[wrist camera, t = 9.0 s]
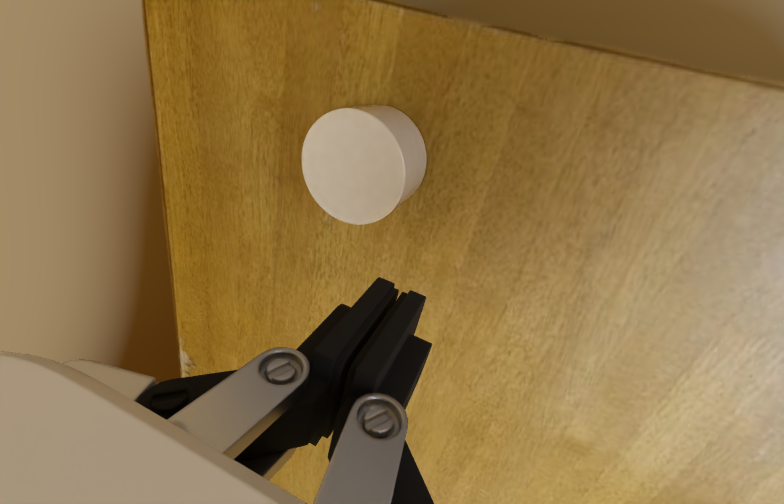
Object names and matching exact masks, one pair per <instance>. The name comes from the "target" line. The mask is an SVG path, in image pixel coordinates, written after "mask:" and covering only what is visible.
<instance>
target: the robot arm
mask: <svg viewBox="0 0 784 504" xmlns="http://www.w3.org/2000/svg"><path fill="white" fill-rule="evenodd" d="M394 285H395V284H394V283H392V282H390V281H387V280H385V279H382V278H380V277H379V278H377V279H376V281H375V282H374V283H373V284H372V285H371V286H370V287H369V288H368V290H367V291H366V292H365V293H364V294H363V295H362V296H361V297H360V299H359V300H358V301H357V302H356V303H355V304H354V305H353V306H352V308H351V307H349V306H346V305H344V304H340V305H339V306H338V307H337V308H336V309H335V310H334V311H333V312H332V313H331V314H330V315H329V316H328V317H327V318H326V319H325V320H324V321H323V322H322V323H321V324H320V325H319V327H318V328H317V329H316V330H315V331H314V332H313V333H312V334H311V335H310V336H309V337H308V338H307V339H306V340H305V341H304V342H303V343H302V344H301V345H300V346H299V347H298V348H297V349H296V350H295V349H292V348H287V347H277V348H273V349H269V350H267V351H265V352H263V353H261V354H260V355H258V356H257V357H256V358H254V359H253V360H251V361H250V362H248V363H247V364H246V365H244V366H243V367H241V368H240V369H238V370H233V371H226V372H219V373H212V374H205V375H199V376H192V377H185V378H178V379H171V380H167V381H163V382H160V383H157V382H156V379H155V378H154V377H151V376H147V375H143V374H140V373H136V372H132V371H129V370H125V369H121V368H118V367H114V366H110V365H107V364H103V363H99V362H95V361H92V360H84V359H79V360H71V361H68V362H65V363H59V362H56V361H53V360H50V359H46V358H42V357H38V356H33V355H29V354H21V353H13V352H4V351H1V352H0V504H307V503H305V502H303V501H302V500H300V499H298V498H297V497H295V496H293V495H292V494H290V493H288V492H287V491H285V490H283V489H282V488H280V487H278V486H277V485H275V484H273V483H272V482H270V481H269V480H270V479H271V478H272V477H273V476H274V475H275V474H276V473H277V472H278V471H279V470H280V469H281V467H282V466H283V465H284V464H285V463H286V462H287V461H288V460H289V459H290V458H291V457H292V455H293V454H294V452H295V451H296V448H297V447H301V446H305V445H308V443H311V444H313V445H315V446H316V445H317V443H318V442H319V440H320V439H321V437H322V436H324V437H326V438H328V437H329V436H330V435H331V433H332V431H333V430H334V431H333V436H332V440H331V444H330V449H329V453H328V459H329V465H328V468H327V470H326V473H325V475H324V478H323V480H322V483H321V485H320V488H319V490H318V493H317V495H316V498H315V500H314V503H313V504H434V503H433V500H432V498H431V496H430V494H429V491H428V489H427V487H426V485H425V483H424V480H423V478H422V476H421V474H420V472H419V469H418V467H417V465H416V463H415V461H414V458H413V456H412V454H411V452H410V450H409V447H408V445H407V443H406V441H405V437H406V433H407V428H408V417H407V414H406V411H405V409H406V407H407V405H408V402H409V400H410V398H411V396H412V394H413V391H414V389H415V387H416V385H417V382H418V380H419V378H420V375H421V373H422V370H423V368H424V365H425V363H426V360H427V357H428V354H429V352H430V349H431V346H432V343H429V342H427V341H425V340H423V339H420V338H418V337H416V336H414V333H415V330H416V327H417V324H418V321H419V318H420V315H421V312H422V309H423V306H424V303H425V300H426V296H423V295H421V294H418V293H416V292H414V291H411V290H410V291H409V293H408V294H407V293H405V292H402V293H401V295H400V296H399V298H398V299H397V296H398V292H399V290H397V289H395V288H394ZM396 299H397V300H396Z"/></svg>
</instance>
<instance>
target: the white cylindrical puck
mask: <svg viewBox="0 0 784 504" xmlns="http://www.w3.org/2000/svg"><path fill="white" fill-rule="evenodd" d="M301 161H302V171H303V176H304V179H305V182H306V185H307V187H308V189H309V191H310V193H311V195H312V196H313V198H314V200H315V201H316V202H317V203H318V204H319V206H320V207H321V208H322V209H323V210H324V211H326V212H327V213H328V214H329V215H331V216H333V217H334V218H336V219H338V220H340V221H343V222H346V223H350V224H356V225H364V224H370V223H374V222H377V221H379V220H381V219H383V218H384V217H386V216H387V215H388V214H389V213H391V212H392V211H393V210H394V209H396V208H397V207H398V206H399V205H401V204H402V203H403V202H404V201H406V200H407V199H408V198H409V197H411V196H412V195H413V194H414V193H415V192H416V190H417V189H418V187H419V186H420V184H421V182H422V180H423V177H424V175H425V170H426V162H427V157H426V148H425V144H424V141H423V138H422V136H421V133H420V132H419V130H418V128H417V127H416V125H415V124H414V123H413V121H412V120H411V119H410V118H409V117H408V116H406V115H405V114H404V113H402V112H401V111H399V110H397V109H395V108H393V107H391V106H387V105H381V104H372V105H364V106H356V107H348V108H340V109H336V110H333V111H330V112H328V113H326V114H324V115H323V116H321V117H320V118H319V119H318V120H317V121H316V122H315V123H314V124H313V125H312V127H311V128H310V130H309V131H308V133H307V135H306V137H305V140H304V144H303V148H302V157H301Z"/></svg>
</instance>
